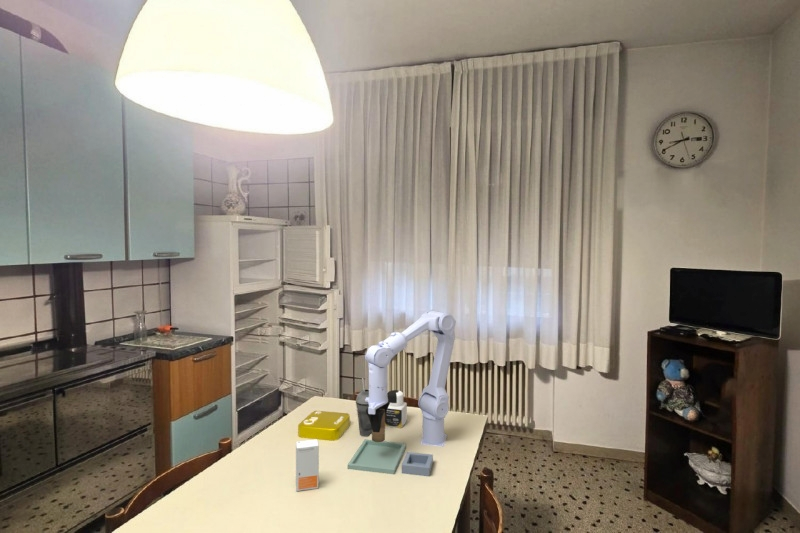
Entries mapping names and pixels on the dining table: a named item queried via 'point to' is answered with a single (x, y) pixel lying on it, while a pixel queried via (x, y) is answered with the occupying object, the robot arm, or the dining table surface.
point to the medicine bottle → (396, 410)
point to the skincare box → (307, 465)
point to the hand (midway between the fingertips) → (378, 428)
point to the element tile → (324, 425)
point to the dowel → (381, 435)
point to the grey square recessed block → (417, 464)
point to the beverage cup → (363, 412)
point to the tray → (377, 456)
